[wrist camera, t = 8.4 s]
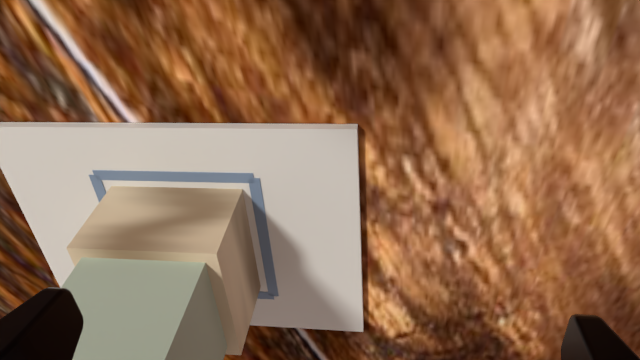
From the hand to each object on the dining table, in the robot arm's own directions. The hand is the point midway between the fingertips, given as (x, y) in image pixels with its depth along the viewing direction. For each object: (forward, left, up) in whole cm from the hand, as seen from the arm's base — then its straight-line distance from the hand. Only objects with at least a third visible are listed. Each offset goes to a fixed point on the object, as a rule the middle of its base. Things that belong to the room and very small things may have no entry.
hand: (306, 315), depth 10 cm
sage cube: (+8, +9, -8) cm, 14 cm away
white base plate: (+8, +9, -12) cm, 17 cm away
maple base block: (+8, +9, -12) cm, 17 cm away
